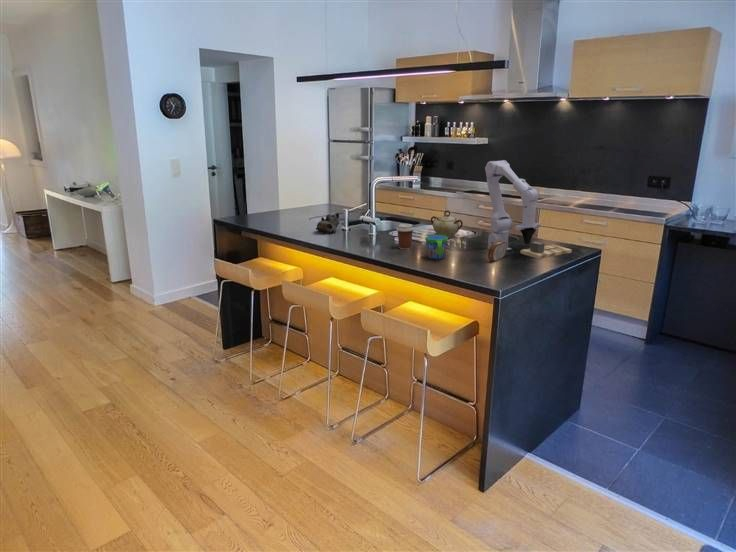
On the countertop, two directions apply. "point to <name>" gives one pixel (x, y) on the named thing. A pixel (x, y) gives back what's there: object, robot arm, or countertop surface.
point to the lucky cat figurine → (329, 223)
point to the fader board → (547, 251)
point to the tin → (497, 251)
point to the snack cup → (436, 246)
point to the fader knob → (537, 247)
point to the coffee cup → (405, 235)
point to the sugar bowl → (446, 225)
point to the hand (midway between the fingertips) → (526, 243)
